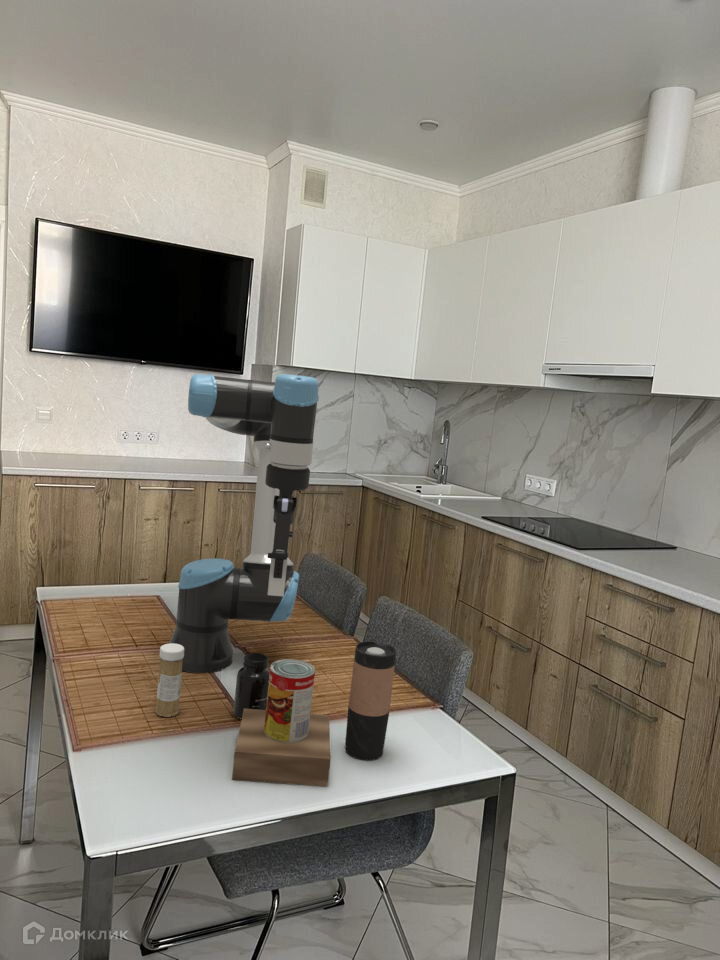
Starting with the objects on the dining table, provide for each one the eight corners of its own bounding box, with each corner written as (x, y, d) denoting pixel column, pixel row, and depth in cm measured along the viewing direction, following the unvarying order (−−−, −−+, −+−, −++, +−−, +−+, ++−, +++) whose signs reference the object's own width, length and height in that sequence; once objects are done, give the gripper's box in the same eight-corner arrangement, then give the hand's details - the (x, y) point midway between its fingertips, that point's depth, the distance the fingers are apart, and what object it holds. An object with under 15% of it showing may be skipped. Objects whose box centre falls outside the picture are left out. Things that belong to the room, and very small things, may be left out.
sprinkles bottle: (161, 705, 147) (166, 641, 145) (183, 710, 146) (188, 645, 144) (150, 715, 142) (155, 648, 141) (172, 720, 142) (178, 653, 140)
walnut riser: (241, 733, 139) (243, 708, 139) (326, 739, 141) (329, 715, 140) (232, 779, 124) (234, 751, 123) (327, 786, 125) (330, 758, 124)
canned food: (281, 717, 137) (288, 655, 135) (316, 731, 133) (323, 668, 131) (254, 732, 130) (261, 667, 129) (291, 748, 126) (297, 681, 125)
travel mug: (354, 764, 133) (367, 658, 130) (336, 743, 140) (348, 642, 137) (391, 758, 137) (404, 654, 134) (372, 738, 143) (384, 639, 141)
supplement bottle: (261, 725, 144) (266, 666, 142) (227, 718, 145) (233, 660, 143) (272, 710, 150) (278, 654, 149) (240, 704, 151) (245, 648, 150)
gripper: (270, 453, 140) (259, 561, 143) (263, 474, 116) (251, 604, 119) (309, 457, 141) (298, 564, 144) (311, 479, 116) (297, 608, 120)
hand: (277, 583), depth 132 cm, fingers open, 13 cm apart
